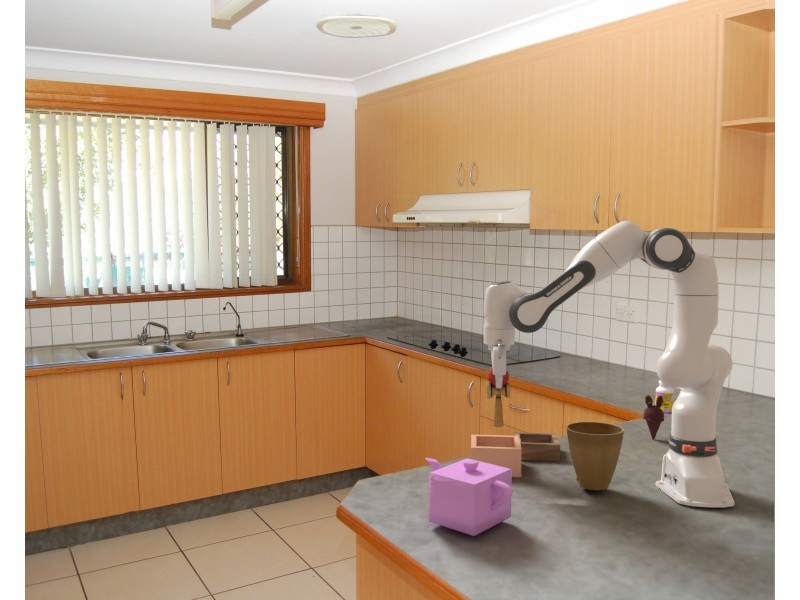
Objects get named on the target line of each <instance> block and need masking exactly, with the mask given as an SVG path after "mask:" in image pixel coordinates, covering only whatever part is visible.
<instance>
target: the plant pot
mask: <svg viewBox="0 0 800 600" xmlns="http://www.w3.org/2000/svg"><path fill="white" fill-rule="evenodd" d="M565 427H566V435H567V441H568V442H567V443H568V447H569V453H570V458H571V461H572V465H573V469H574V473H575V475H576V478H577V481H578V484H579V486H580V487H581V488H583V489H585V490H590V491H603V490H604V491H605V490H606V489H608V488H609V486H610V485H611V481H612V479H613V476H614V473H615V471H616V469H617V468H616V467H617V465H618V461H619V458H620V453H621V449H622V445H623V439H624V433H625V432H624V431H625V429H624V428H623V427H622V426H620V425H617V424H614V423H609V422H608V423H607V422H599V421H576V422H572V423H568V424H567V425H566V426H565Z"/></svg>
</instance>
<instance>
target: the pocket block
mask: <svg viewBox="0 0 800 600" xmlns="http://www.w3.org/2000/svg"><path fill="white" fill-rule="evenodd" d="M513 434H514V435H513V436H519V440H520V445H521V461H540V462H541V461H546V462H548V461H549V462H561V443H560V441H559V438H558V435H557V433H555V432H554V433H553V432H551V433H550V432H548V433H547V432H517V431H516V432H515V431H514V433H513Z"/></svg>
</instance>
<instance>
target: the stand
mask: <svg viewBox="0 0 800 600" xmlns="http://www.w3.org/2000/svg"><path fill="white" fill-rule="evenodd" d="M470 441H471V442H470V459H472V460H476V461H480V462H484V463H489V464H493V465H497V466H501V467H505V468H509V469H511V470H512V478H522V460H521V445H520V440H519V436H514V435H500V434H499V435H498V434H495V435H494V434H471V438H470Z"/></svg>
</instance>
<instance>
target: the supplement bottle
mask: <svg viewBox="0 0 800 600" xmlns="http://www.w3.org/2000/svg"><path fill="white" fill-rule="evenodd" d="M658 396H662V397H663V403H662V406H661V407H660V408H661V409H662V411H663V413H664V414H672V406H673V404H674V402H675V388H671V387H668V386H666V385H665V384H663V383H662V382H661V381H660V379H659V380H658V387H656V389H655V399H654V403H655V404H654V405H656V399H657V397H658Z"/></svg>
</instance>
